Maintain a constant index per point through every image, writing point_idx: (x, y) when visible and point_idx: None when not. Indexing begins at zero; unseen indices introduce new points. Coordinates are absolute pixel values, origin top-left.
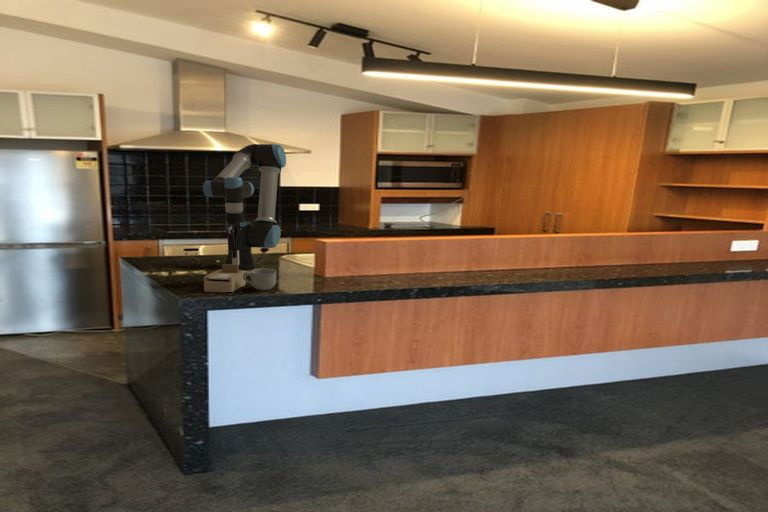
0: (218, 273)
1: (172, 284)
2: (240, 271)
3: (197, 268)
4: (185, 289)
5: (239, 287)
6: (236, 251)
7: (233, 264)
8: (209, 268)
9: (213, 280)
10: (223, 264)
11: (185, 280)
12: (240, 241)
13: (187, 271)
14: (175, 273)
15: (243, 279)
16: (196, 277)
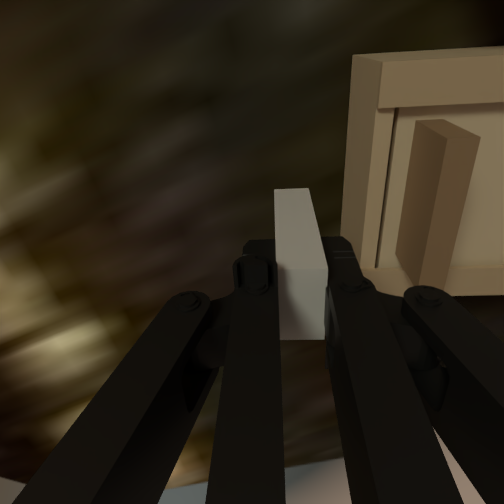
0: (462, 261)
1: None
2: (439, 94)
3: (40, 456)
4: (501, 340)
5: (499, 46)
6: (326, 277)
7: (438, 194)
8: (11, 421)
9: None
10: (437, 281)
11: (296, 409)
12: (158, 371)
13: None
14: (171, 480)
15: (423, 53)
16: None
